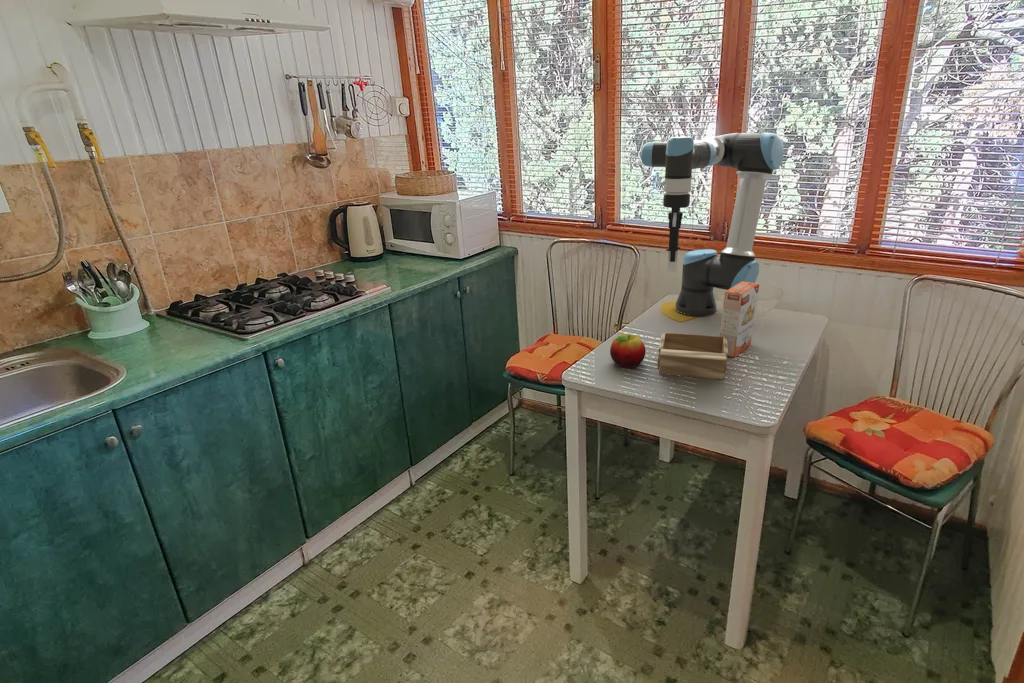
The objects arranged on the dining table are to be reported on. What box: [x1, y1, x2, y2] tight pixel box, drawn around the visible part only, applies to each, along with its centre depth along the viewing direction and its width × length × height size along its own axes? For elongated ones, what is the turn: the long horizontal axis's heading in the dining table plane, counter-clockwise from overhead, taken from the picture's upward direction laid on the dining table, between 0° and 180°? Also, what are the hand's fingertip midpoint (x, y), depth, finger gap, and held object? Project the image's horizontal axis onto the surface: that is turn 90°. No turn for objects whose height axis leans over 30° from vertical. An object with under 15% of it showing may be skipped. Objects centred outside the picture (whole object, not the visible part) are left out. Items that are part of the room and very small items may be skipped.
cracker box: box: [719, 281, 760, 358], centre depth 179 cm, size 14×6×21 cm, turn 139°
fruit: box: [609, 333, 647, 369], centre depth 174 cm, size 11×11×10 cm
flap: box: [660, 349, 728, 361], centre depth 159 cm, size 7×18×1 cm, turn 72°
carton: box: [657, 331, 729, 381], centre depth 170 cm, size 14×19×8 cm
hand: (671, 271), depth 175 cm, fingers closed
